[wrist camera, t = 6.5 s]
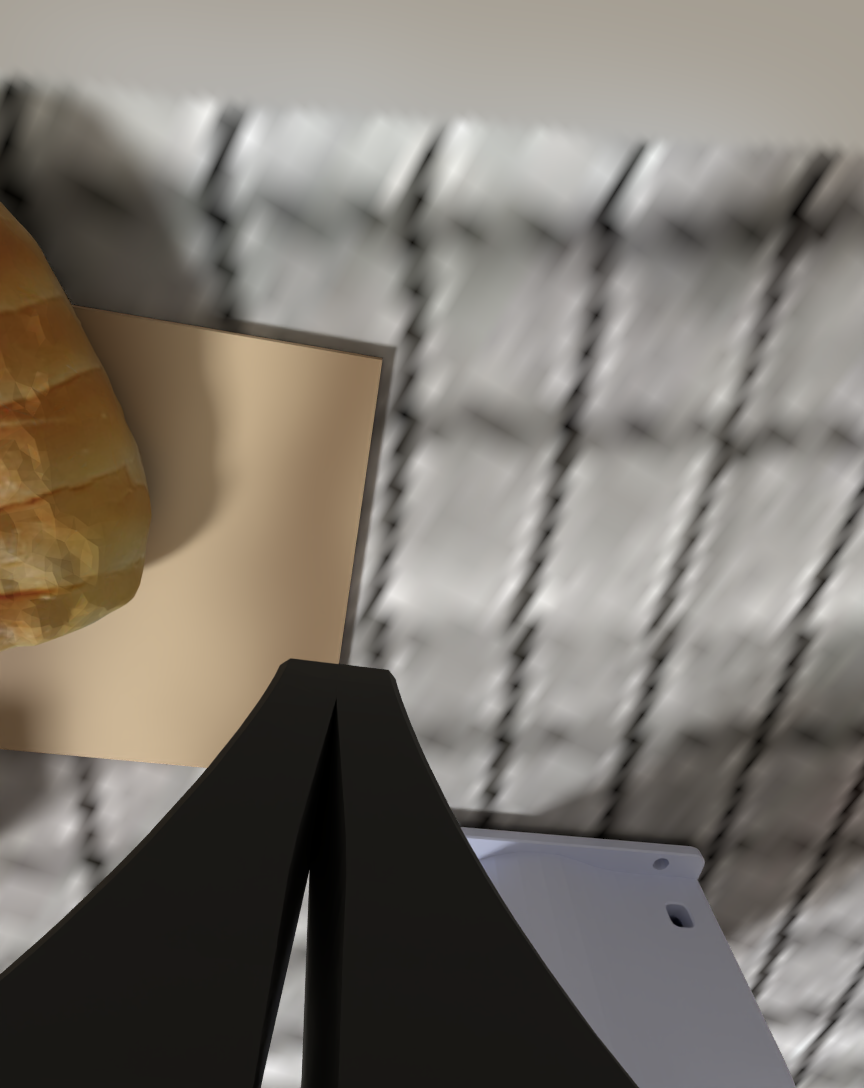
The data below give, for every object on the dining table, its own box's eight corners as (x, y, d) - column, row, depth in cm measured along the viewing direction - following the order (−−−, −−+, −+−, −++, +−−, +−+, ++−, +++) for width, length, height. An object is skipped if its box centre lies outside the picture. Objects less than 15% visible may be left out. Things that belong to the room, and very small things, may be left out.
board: (382, 357, 15) (380, 385, 12) (323, 770, 19) (312, 860, 17) (-388, 225, 13) (-607, 221, 10) (-244, 718, 18) (-364, 809, 15)
